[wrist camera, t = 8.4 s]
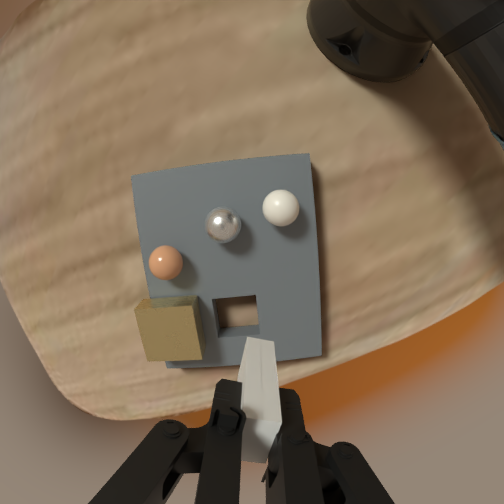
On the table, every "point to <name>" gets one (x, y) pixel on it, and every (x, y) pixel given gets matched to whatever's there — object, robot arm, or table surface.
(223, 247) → the slate plate
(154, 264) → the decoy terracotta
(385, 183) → the table surface
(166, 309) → the brass cover
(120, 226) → the table surface
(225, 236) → the steel ball
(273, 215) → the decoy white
